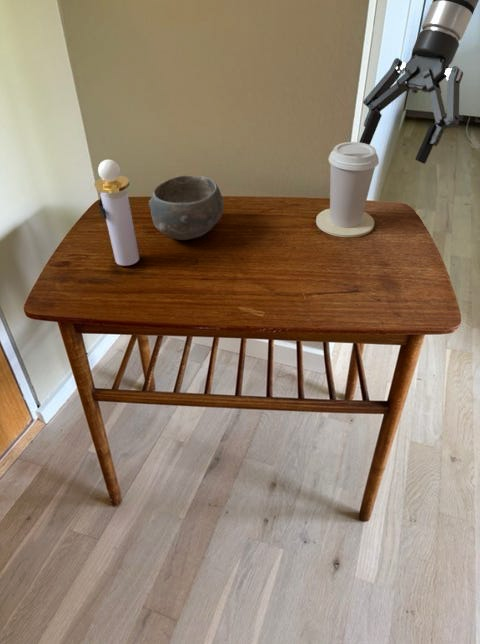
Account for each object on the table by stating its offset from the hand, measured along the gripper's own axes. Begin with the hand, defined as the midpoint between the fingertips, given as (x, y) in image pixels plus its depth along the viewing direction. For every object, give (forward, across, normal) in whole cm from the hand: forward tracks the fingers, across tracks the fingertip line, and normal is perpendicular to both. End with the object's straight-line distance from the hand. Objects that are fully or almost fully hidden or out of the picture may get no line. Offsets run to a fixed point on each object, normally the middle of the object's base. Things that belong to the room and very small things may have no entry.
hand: (390, 153), depth 95 cm
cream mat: (+16, +3, +1) cm, 16 cm away
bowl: (+28, +21, +26) cm, 43 cm away
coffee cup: (+15, +3, +1) cm, 16 cm away
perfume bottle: (+35, +19, +39) cm, 56 cm away
